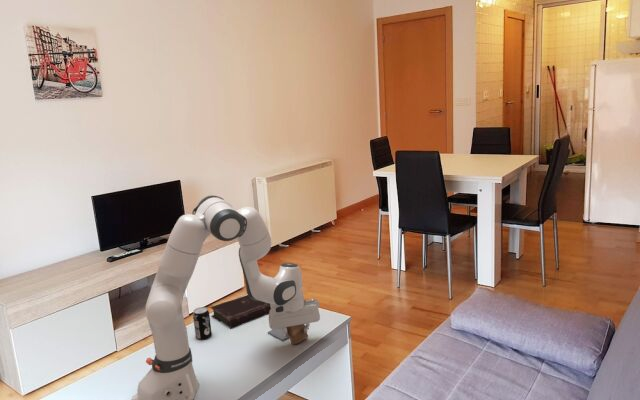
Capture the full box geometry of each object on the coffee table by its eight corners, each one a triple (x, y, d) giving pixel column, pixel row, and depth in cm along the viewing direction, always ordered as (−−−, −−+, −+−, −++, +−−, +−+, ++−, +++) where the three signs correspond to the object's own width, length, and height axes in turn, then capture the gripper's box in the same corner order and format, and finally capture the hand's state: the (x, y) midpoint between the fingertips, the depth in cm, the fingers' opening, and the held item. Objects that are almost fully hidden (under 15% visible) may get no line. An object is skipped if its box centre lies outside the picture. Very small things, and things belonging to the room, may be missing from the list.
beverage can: (213, 332, 217) (210, 306, 214) (209, 340, 211) (205, 313, 208) (198, 332, 218) (195, 306, 215) (193, 340, 211) (190, 313, 209)
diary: (278, 311, 234) (278, 301, 233) (230, 331, 219) (229, 320, 218) (256, 299, 248) (255, 289, 247) (210, 316, 233) (209, 306, 232)
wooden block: (308, 336, 206) (302, 317, 206) (296, 344, 201) (290, 324, 201) (303, 336, 208) (297, 317, 208) (291, 344, 203) (285, 324, 203)
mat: (282, 341, 206) (282, 339, 205) (267, 333, 213) (267, 331, 213) (308, 328, 215) (308, 326, 214) (293, 321, 222) (293, 319, 222)
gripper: (316, 294, 205) (319, 326, 209) (266, 303, 201) (269, 335, 204) (320, 301, 199) (323, 333, 203) (268, 310, 195) (272, 343, 198)
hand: (295, 334), depth 203 cm, fingers closed on wooden block, 6 cm apart
